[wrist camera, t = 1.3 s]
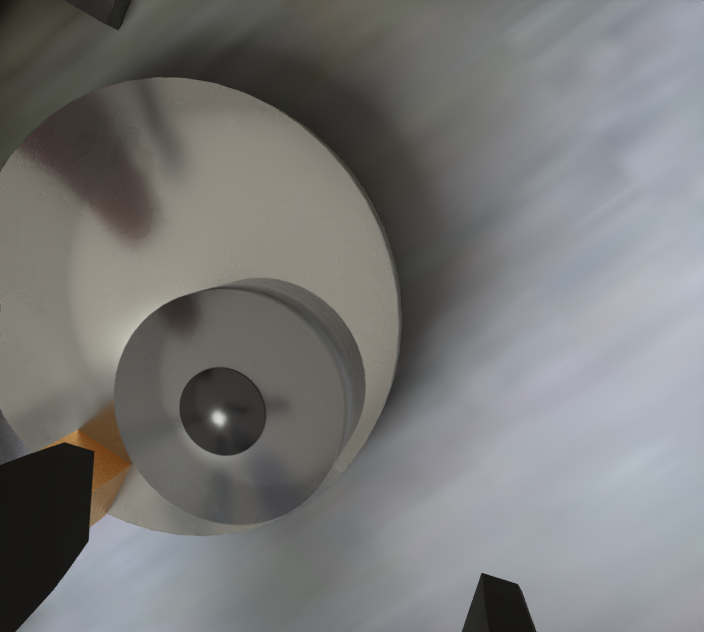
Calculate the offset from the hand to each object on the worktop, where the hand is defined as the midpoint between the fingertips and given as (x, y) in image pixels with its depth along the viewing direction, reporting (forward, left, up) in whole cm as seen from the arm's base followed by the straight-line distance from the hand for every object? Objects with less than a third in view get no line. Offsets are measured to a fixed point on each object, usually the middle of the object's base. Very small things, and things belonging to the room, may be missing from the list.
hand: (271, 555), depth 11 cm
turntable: (+7, +2, -12) cm, 14 cm away
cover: (+3, +2, -10) cm, 11 cm away
